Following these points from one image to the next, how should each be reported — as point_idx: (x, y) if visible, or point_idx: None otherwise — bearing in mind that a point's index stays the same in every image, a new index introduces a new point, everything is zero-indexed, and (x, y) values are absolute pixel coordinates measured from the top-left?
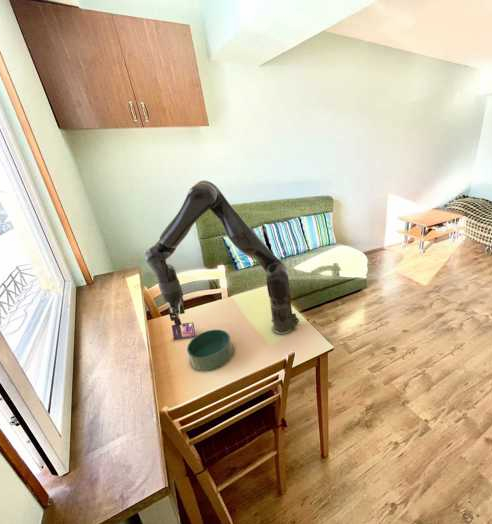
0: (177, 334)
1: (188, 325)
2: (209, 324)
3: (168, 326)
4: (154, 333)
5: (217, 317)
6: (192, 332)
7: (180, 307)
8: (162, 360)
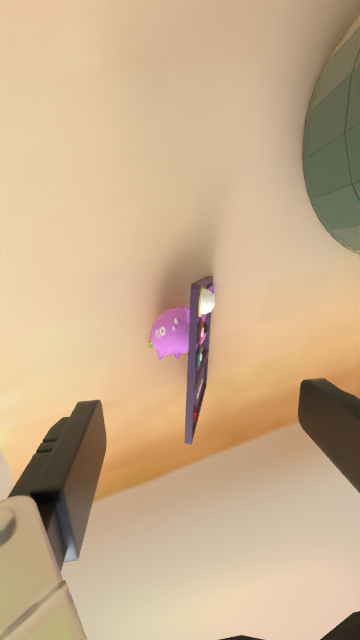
0: (201, 379)
1: (201, 322)
2: (101, 198)
3: None
4: (128, 487)
5: (15, 139)
6: (212, 290)
7: (72, 515)
8: None
